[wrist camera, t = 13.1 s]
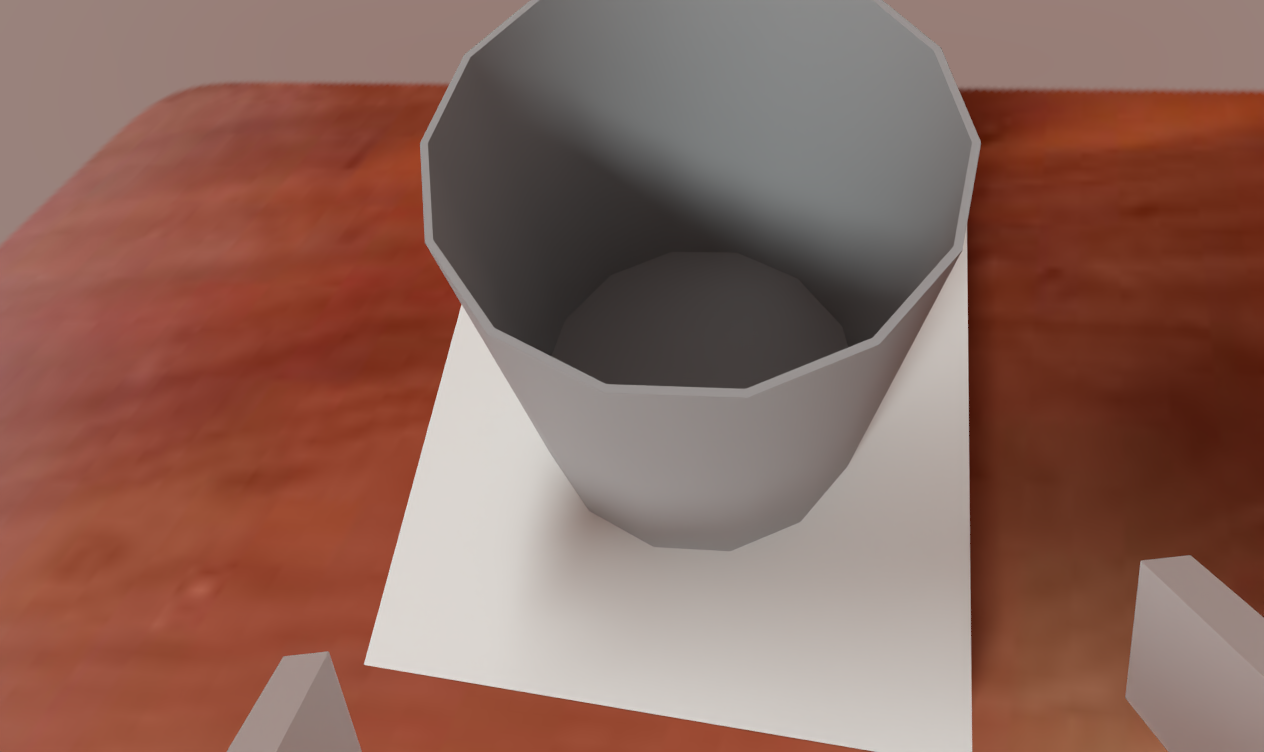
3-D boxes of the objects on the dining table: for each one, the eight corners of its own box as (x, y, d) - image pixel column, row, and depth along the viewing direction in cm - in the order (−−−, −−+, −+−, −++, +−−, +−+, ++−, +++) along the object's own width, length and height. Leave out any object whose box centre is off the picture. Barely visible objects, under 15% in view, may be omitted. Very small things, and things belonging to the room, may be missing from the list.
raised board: (939, 225, 26) (966, 166, 23) (935, 762, 20) (972, 768, 17) (526, 194, 28) (507, 137, 25) (407, 672, 22) (363, 664, 19)
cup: (928, 428, 20) (1109, 184, 11) (663, 621, 19) (618, 525, 10) (726, 210, 23) (736, -119, 14) (489, 362, 22) (331, 107, 13)
